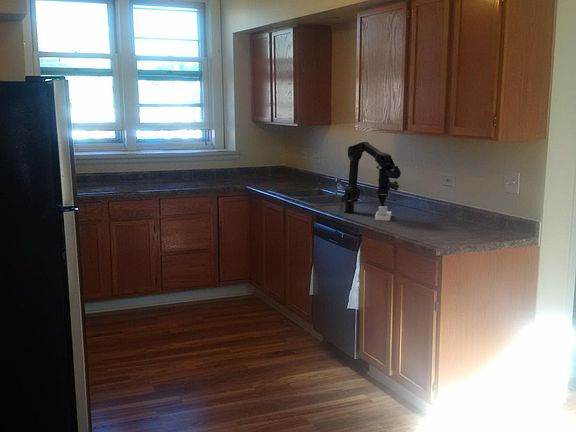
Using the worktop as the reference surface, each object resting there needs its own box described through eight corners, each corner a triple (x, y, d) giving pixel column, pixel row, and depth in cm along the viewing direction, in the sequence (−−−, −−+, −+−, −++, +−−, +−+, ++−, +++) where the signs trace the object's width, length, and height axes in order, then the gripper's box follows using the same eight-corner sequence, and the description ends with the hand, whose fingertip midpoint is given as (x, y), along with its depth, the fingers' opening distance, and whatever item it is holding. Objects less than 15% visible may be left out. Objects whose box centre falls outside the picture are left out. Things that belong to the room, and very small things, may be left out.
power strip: (377, 215, 374) (377, 209, 374) (391, 215, 373) (391, 210, 372) (374, 220, 359) (375, 214, 358) (389, 220, 357) (389, 215, 357)
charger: (379, 218, 364) (379, 205, 363) (386, 218, 363) (387, 206, 362) (378, 219, 360) (378, 207, 359) (386, 220, 359) (386, 207, 358)
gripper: (397, 179, 347) (397, 208, 350) (399, 175, 365) (398, 203, 368) (377, 178, 349) (376, 207, 352) (379, 175, 367) (378, 202, 370)
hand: (383, 205), depth 360 cm, fingers open, 9 cm apart
